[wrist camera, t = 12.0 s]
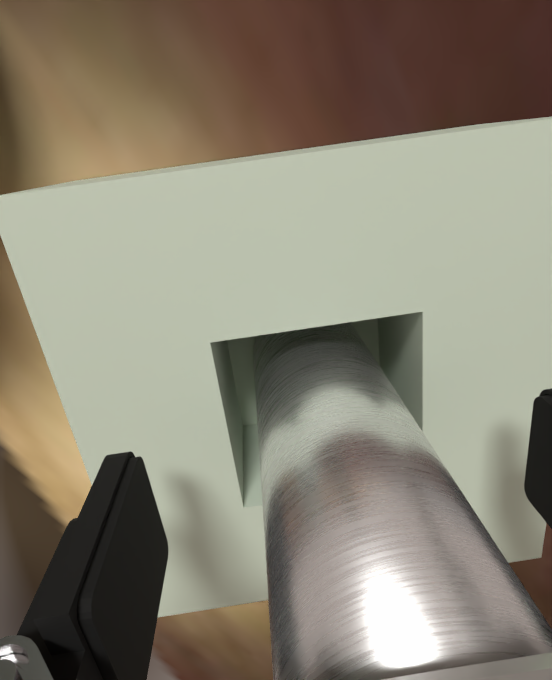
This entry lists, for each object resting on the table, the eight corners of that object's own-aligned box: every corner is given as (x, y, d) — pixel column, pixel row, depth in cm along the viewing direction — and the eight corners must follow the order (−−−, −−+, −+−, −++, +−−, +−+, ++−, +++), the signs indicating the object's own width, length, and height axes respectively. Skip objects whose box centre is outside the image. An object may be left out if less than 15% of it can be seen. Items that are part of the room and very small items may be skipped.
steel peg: (355, 294, 16) (801, 838, 3) (361, 390, 18) (680, 1017, 5) (245, 309, 16) (264, 928, 3) (261, 405, 18) (316, 1082, 5)
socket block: (477, 124, 16) (606, 111, 10) (463, 451, 21) (541, 557, 16) (76, 180, 16) (-14, 197, 10) (167, 496, 21) (141, 619, 16)
